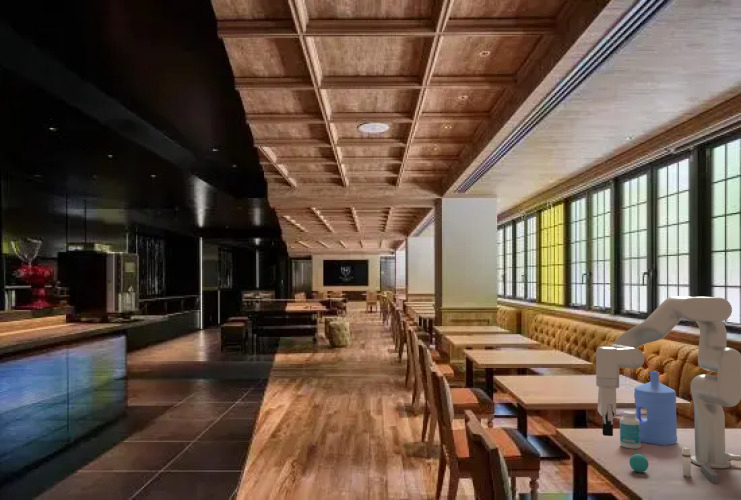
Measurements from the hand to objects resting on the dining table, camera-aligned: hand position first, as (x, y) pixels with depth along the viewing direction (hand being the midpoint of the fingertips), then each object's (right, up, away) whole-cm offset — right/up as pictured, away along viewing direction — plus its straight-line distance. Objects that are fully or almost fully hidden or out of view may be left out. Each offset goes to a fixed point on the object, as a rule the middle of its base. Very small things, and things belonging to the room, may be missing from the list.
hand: (607, 435), depth 205 cm
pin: (+24, -12, -6) cm, 28 cm away
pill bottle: (+20, -14, +28) cm, 37 cm away
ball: (+10, -9, -3) cm, 13 cm away
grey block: (+31, -12, -8) cm, 34 cm away
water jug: (+35, -14, +37) cm, 52 cm away
